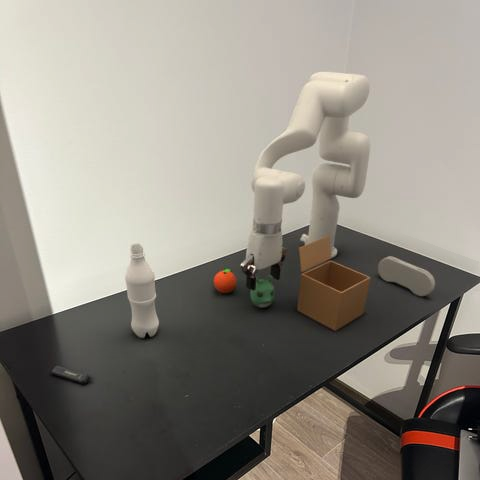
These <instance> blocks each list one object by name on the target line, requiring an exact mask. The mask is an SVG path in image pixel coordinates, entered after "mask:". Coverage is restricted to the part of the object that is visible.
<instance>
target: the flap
mask: <svg viewBox="0 0 480 480" xmlns="http://www.w3.org/2000/svg"><path fill="white" fill-rule="evenodd" d="M297 250H298V259H299V267H300V273H304V272H306V271H308V270H310V269H312V268H315V267H317V266H319V265H321V264H323V263H325V262H328V261H330V260H331V259H332V258H331V249H330V236H326V237H324V238H322V239H319V240H317V241H314V242H312V243H309V244H307V245H305V244H304V245H302V246H300V247H298V248H297Z"/></svg>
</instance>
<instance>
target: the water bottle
mask: <svg viewBox="0 0 480 480" xmlns="http://www.w3.org/2000/svg"><path fill="white" fill-rule="evenodd" d="M129 249H130V252H129V257H130V262H129V264H128V266H127V269H126V272H125V275H124V280H125V284H126V293H127V299H128V301H129V304H130V305H129V306H130V308H131V321H130V326H131V329H132V331H133V333H134V334H135V335H136V336H137V337H138V338H139V339H140V338H141V339H144V338H145V337H146V334H148V336H149V337H150V338H153V337H154V336H155V335H156V333H157V332H158V329H159V325H160V320H159V318H158V317H159V316H158V315H157V311H156V305H155V304H156V298H157V293H156V292H157V291H156V283H155V282H156V280H155V276H156V275H155V272H154V271H153V268H152V267H151V265H149V263H148V262H147V260H146V257H145V256H146V254H145V250H144V245H143V244H141V243H133V244H131V245H130V246H129Z"/></svg>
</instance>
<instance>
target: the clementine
mask: <svg viewBox="0 0 480 480" xmlns="http://www.w3.org/2000/svg"><path fill="white" fill-rule="evenodd" d="M213 285H214V288H215V289H216V290H217V291H218V292H219V293H220V294H221V293H222V294H229V293H232V292H233V291H234V290H235V288H236V286H237V278H236V276H235V274H234V273H233V271H232V269H230V268H229V269H228V268H227V269H225V270H224V269H223V270H220V271H219V272H217V273H216V274H215V276H214V278H213Z"/></svg>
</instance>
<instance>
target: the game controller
mask: <svg viewBox="0 0 480 480" xmlns="http://www.w3.org/2000/svg"><path fill="white" fill-rule="evenodd" d="M377 272H378V274H379V276H380V278H381V279H382V280H384V281H385V282H387V283H396V284H398V285H400V286H402V287H404V288H407V289H409V290H410V291H411V292H412V293H413V294H414V295H415V296H418V297H425V296H428V295H429V294H431V293H432V292H433V291H434V290H435V287H436V281H435V277H434V276H433V274H432V273H430V271H428V270H426V269H424V268H421V267H419V266H417V265H414V264H412V263H408V262H406V261H404V260H402V259H399V258H397V257H394V256H390V255H389V256H387V257H384V258H383V259H381V260H380V261H379V262H378V265H377Z"/></svg>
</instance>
